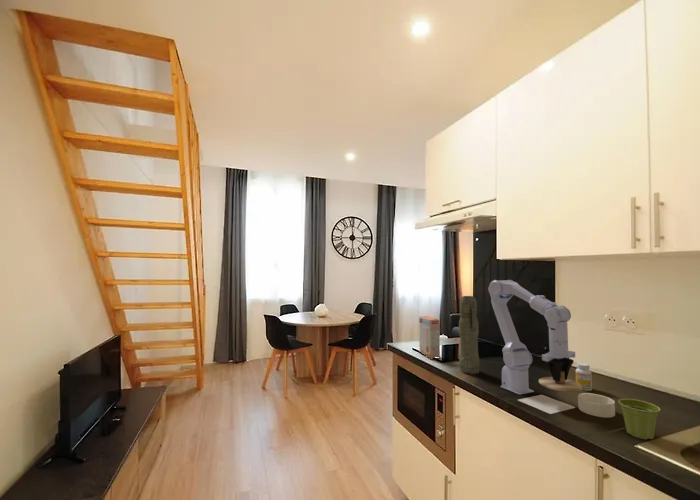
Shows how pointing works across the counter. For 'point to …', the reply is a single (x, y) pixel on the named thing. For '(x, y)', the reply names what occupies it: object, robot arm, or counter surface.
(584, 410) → the bowl
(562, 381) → the lid
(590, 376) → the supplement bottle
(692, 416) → the counter surface
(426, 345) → the cracker box
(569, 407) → the mat
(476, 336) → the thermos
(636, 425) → the plant pot
